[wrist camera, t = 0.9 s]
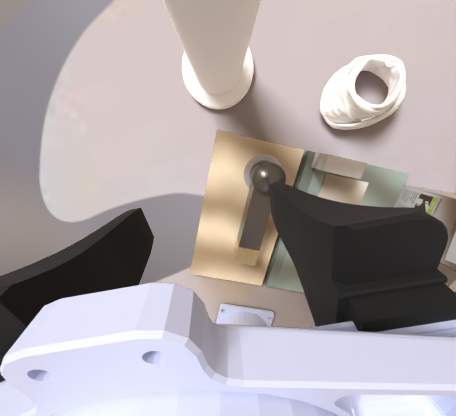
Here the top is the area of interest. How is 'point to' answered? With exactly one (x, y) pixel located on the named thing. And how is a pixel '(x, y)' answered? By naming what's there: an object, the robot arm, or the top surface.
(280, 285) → the door and jamb
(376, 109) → the white curved piece
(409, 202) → the coffee box
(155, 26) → the top surface
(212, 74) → the candle
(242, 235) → the bar
